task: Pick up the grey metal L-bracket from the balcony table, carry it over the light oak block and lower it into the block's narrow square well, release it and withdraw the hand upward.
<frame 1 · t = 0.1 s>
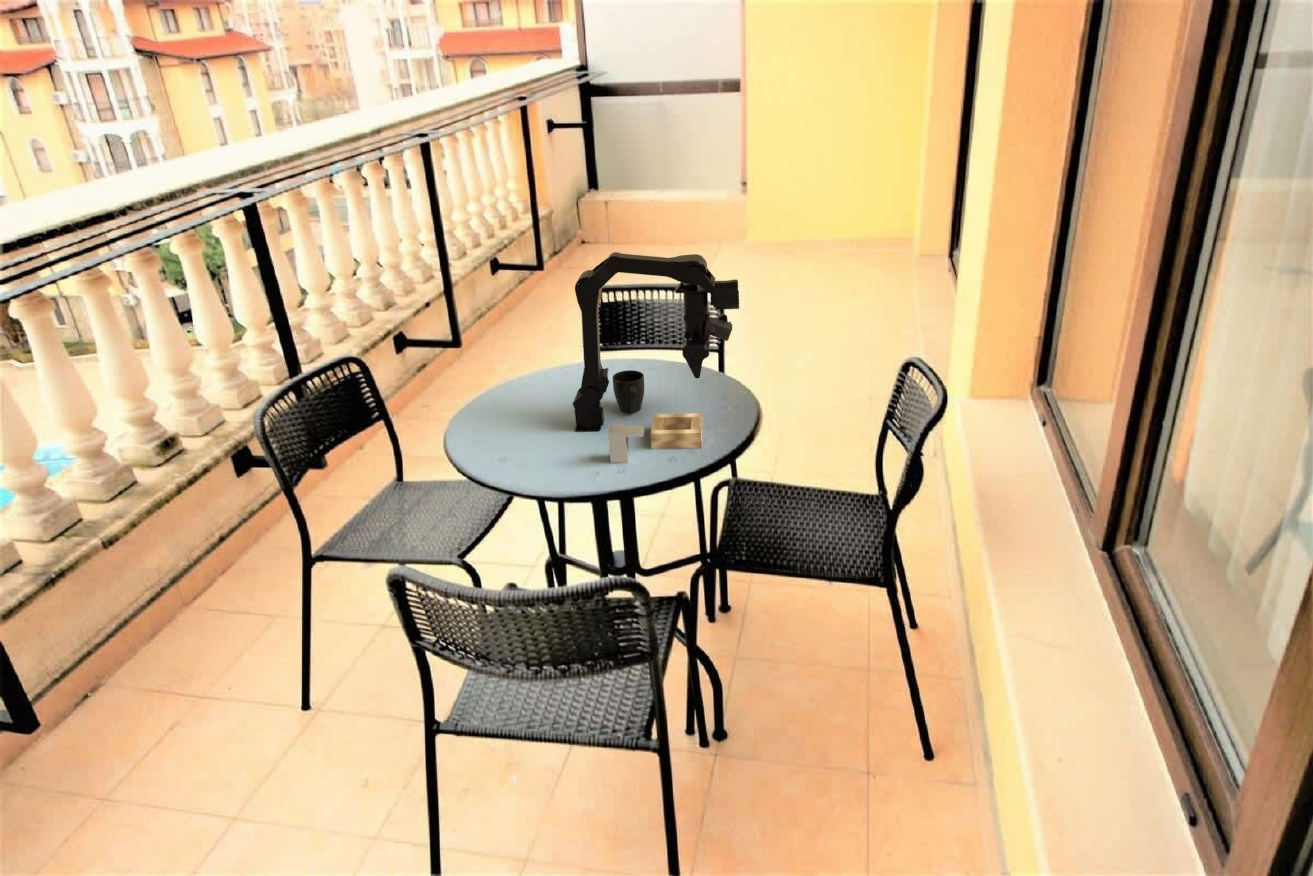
hand: (697, 370, 206), 15 cm above the table, tool pointing down, fingers open, 9 cm apart
mug: (631, 412, 221), on the table
well block: (677, 438, 206), on the table
bracket: (620, 459, 198), on the table
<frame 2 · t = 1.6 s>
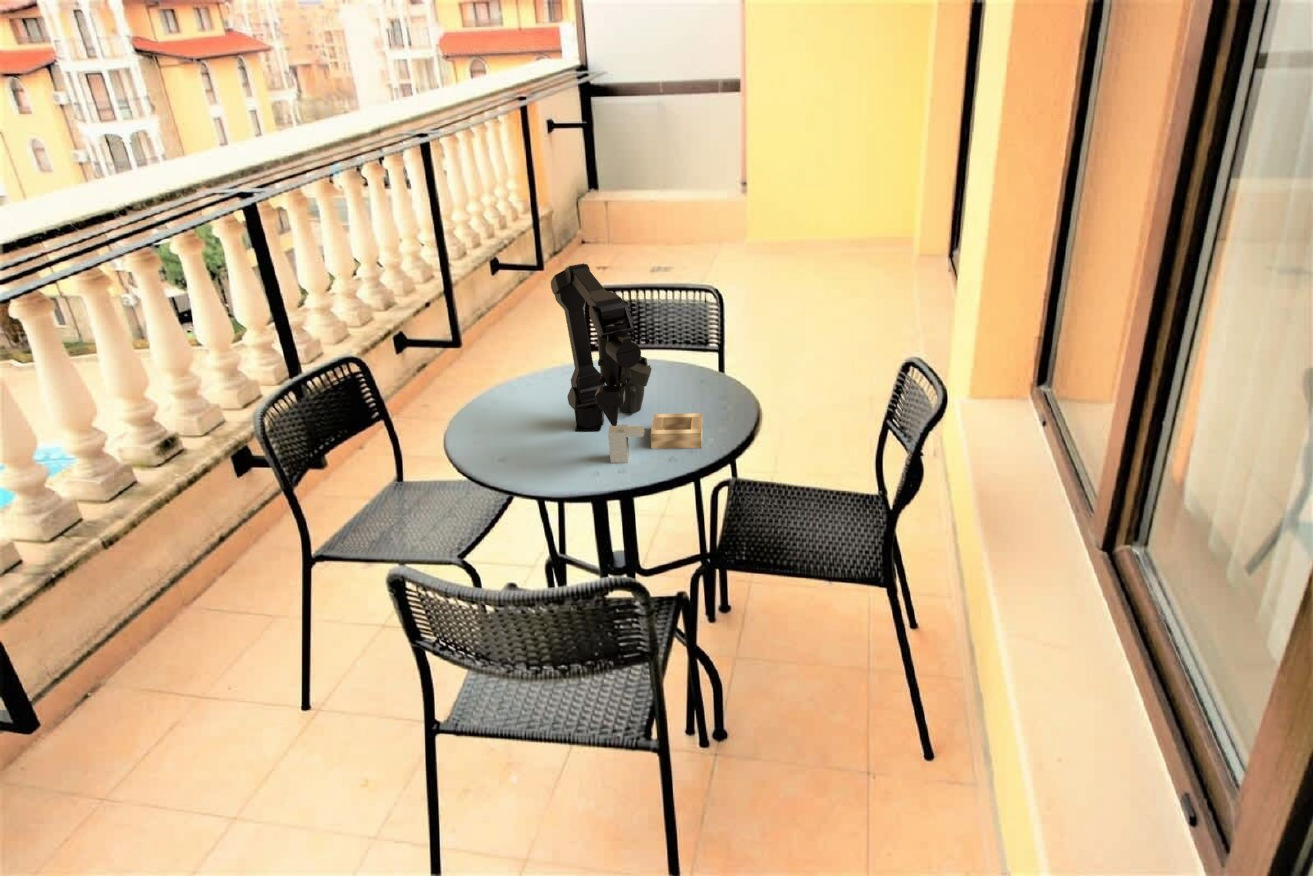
hand: (616, 416, 193), 11 cm above the table, tool pointing down, fingers open, 9 cm apart
nothing on the table moved.
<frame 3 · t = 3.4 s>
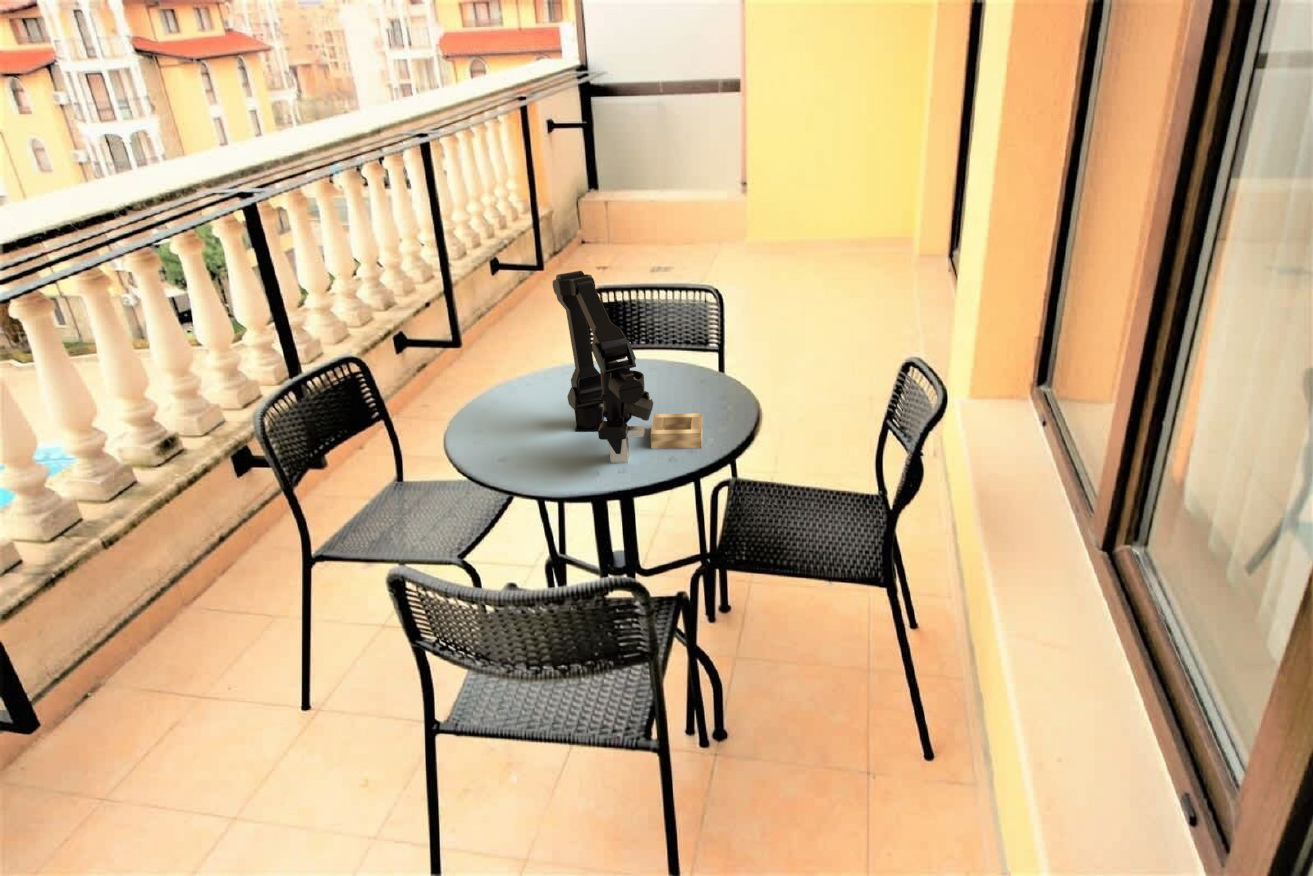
hand: (619, 449, 197), 3 cm above the table, tool pointing down, fingers closed on bracket, 4 cm apart
bracket: (620, 458, 198), on the table, touching gripper
everything else where it was.
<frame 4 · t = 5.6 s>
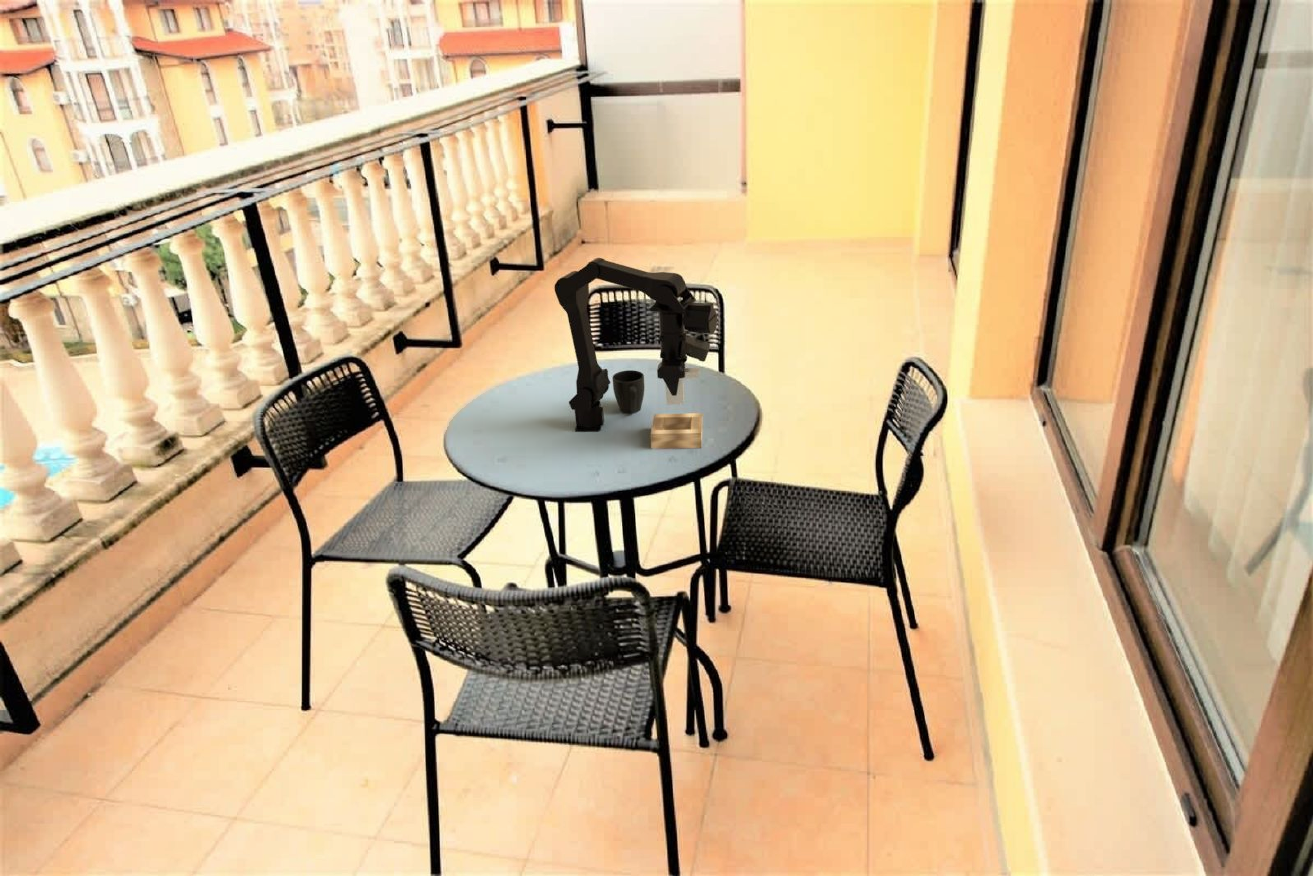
hand: (674, 391, 201), 12 cm above the table, tool pointing down, fingers closed on bracket, 4 cm apart
bracket: (675, 401, 202), point 10 cm above the table, touching gripper
everything else where it was.
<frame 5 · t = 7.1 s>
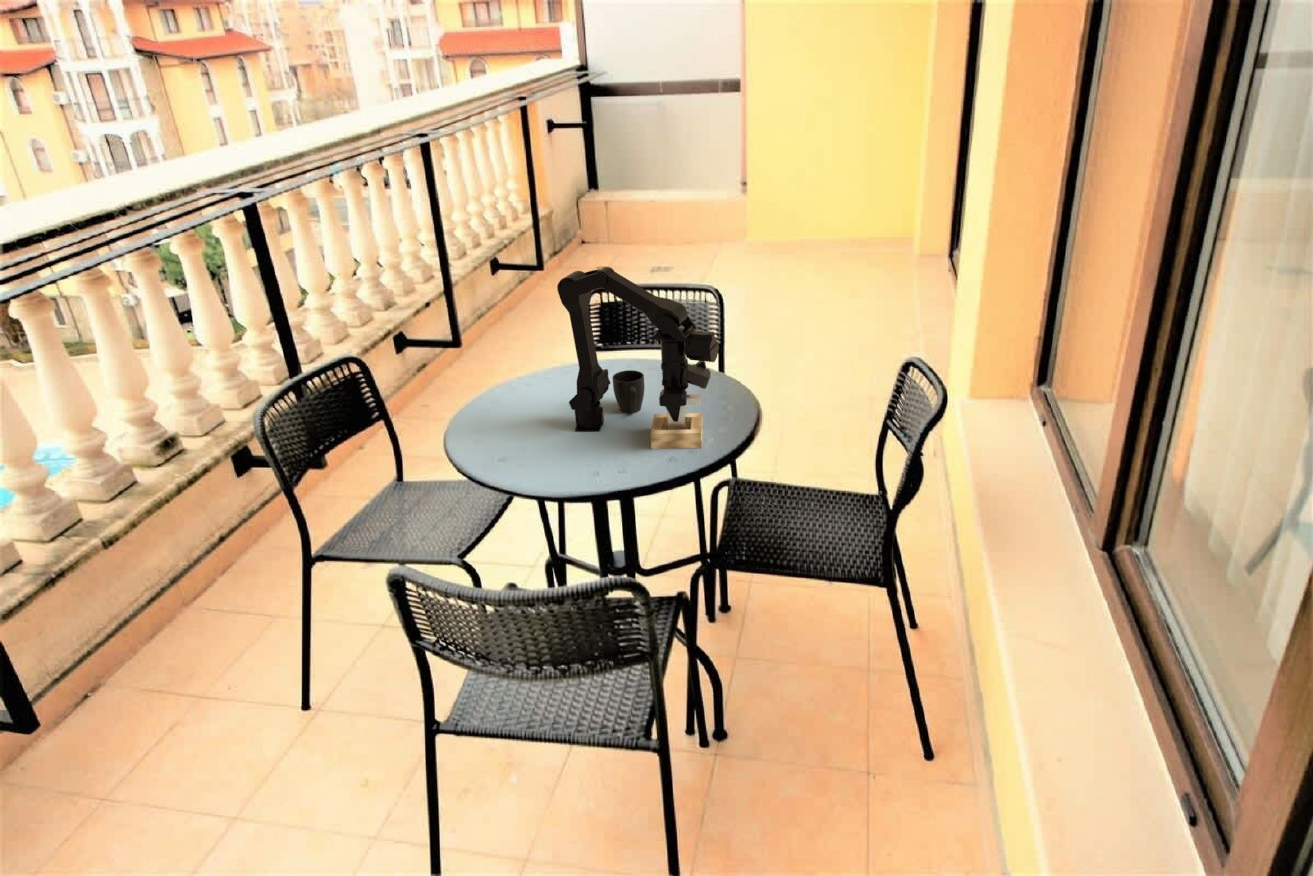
hand: (676, 417, 204), 6 cm above the table, tool pointing down, fingers closed on bracket, 4 cm apart
bracket: (676, 426, 205), point 3 cm above the table, touching gripper
everything else where it was.
when the fingers open (5 cm above the table, at t = 8.0 s): bracket drops 2 cm, resting in well block.
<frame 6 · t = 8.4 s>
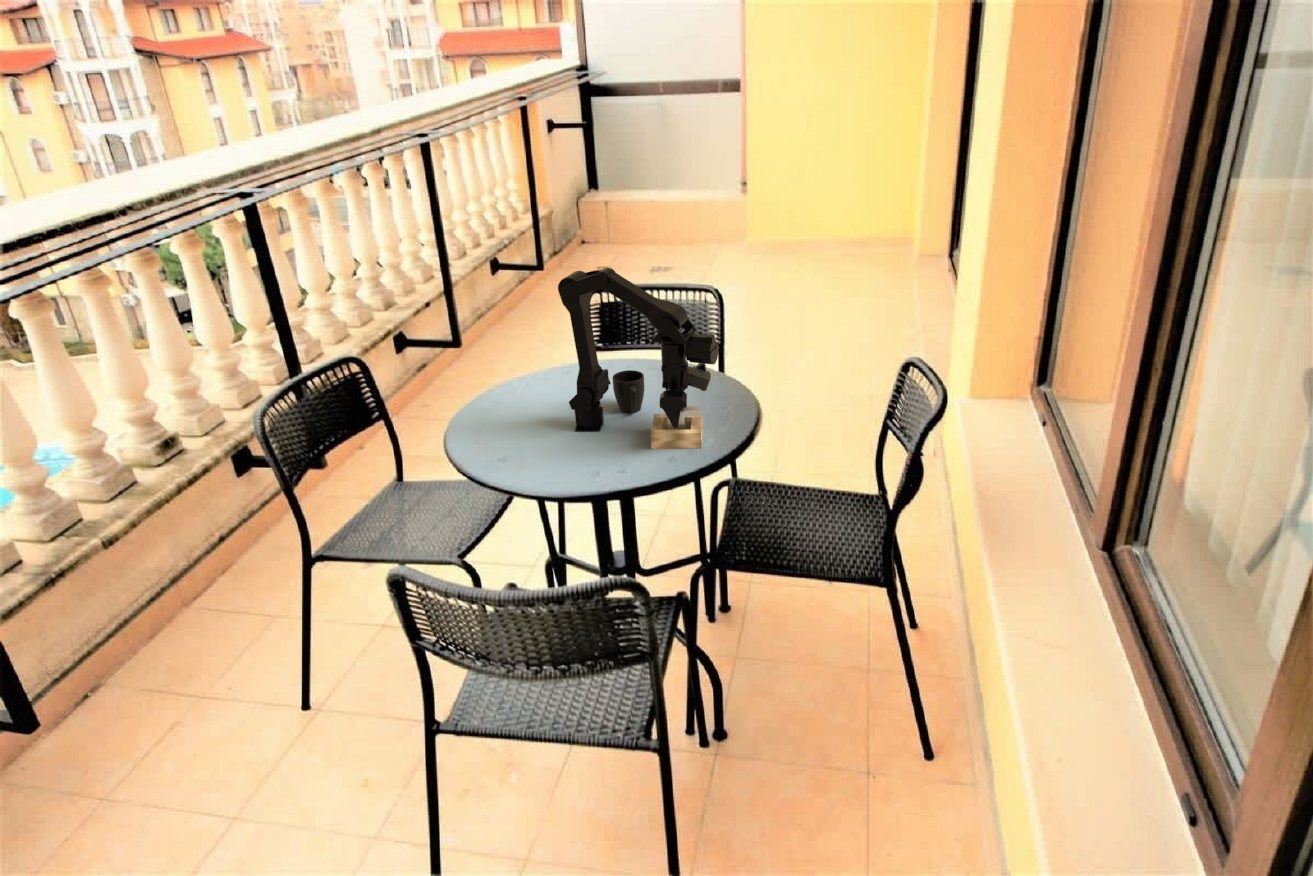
hand: (676, 419, 204), 5 cm above the table, tool pointing down, fingers open, 8 cm apart
bracket: (677, 438, 206), resting in well block
everything else where it was.
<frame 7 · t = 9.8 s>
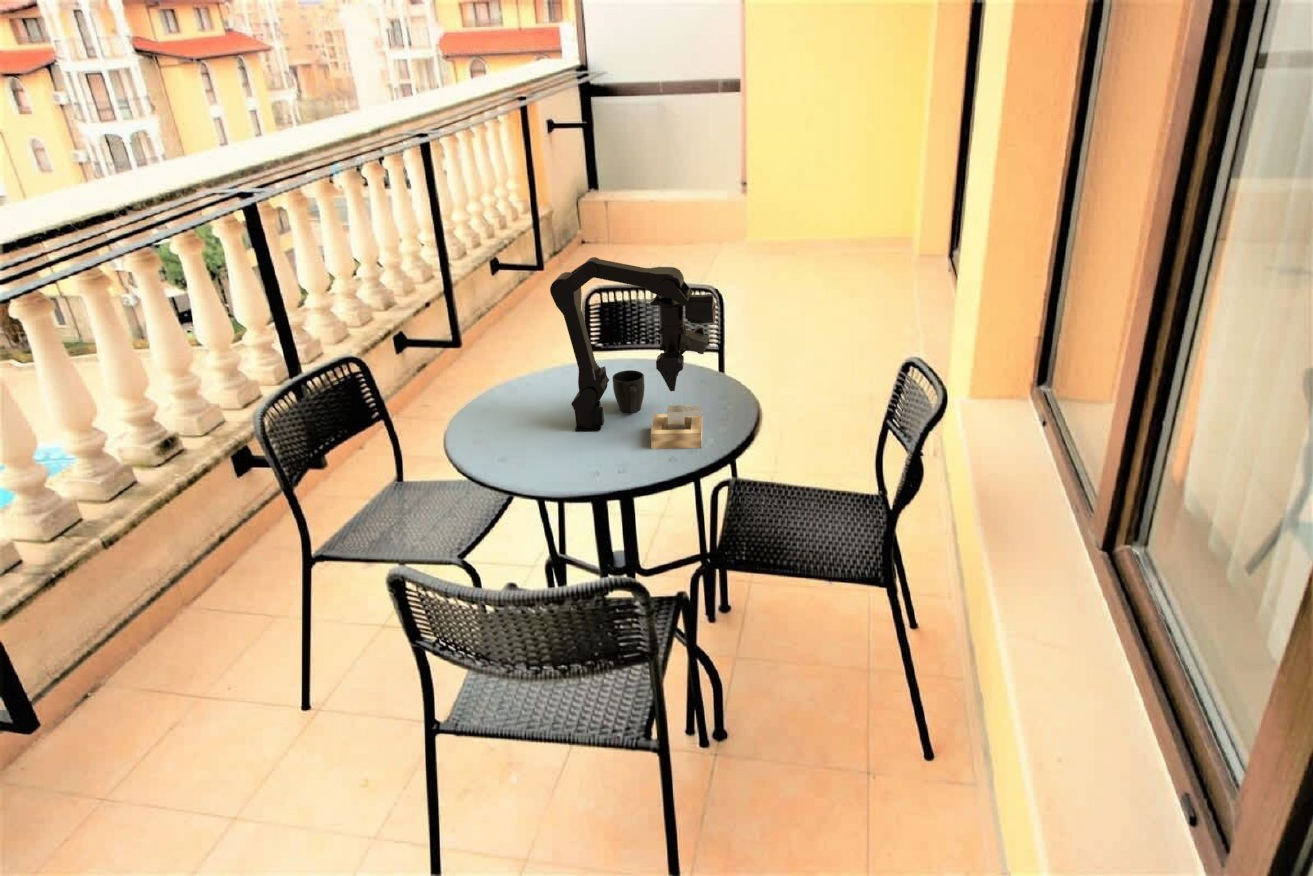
hand: (674, 383, 205), 12 cm above the table, tool pointing down, fingers open, 9 cm apart
nothing on the table moved.
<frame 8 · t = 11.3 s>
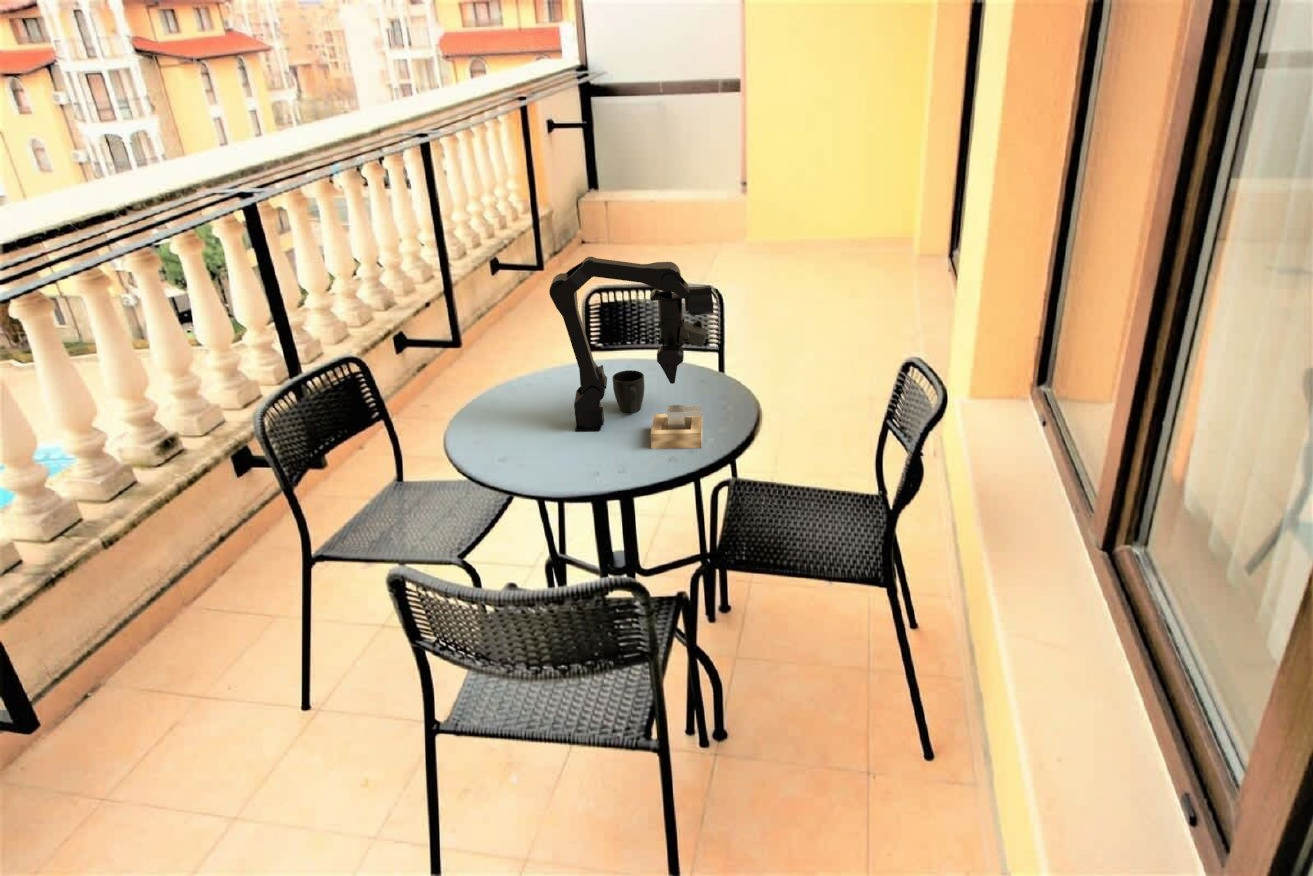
hand: (673, 376, 209), 13 cm above the table, tool pointing down, fingers open, 9 cm apart
nothing on the table moved.
at the end: bracket 0.0 cm off-centre on the well block, point 0.0 cm above the well block's base; bracket tilted 0°; the gripper is holding nothing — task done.
